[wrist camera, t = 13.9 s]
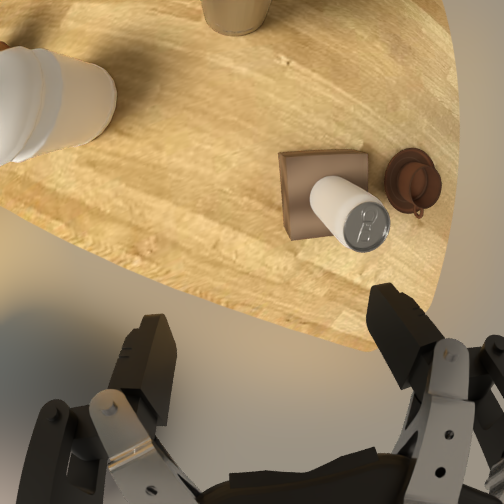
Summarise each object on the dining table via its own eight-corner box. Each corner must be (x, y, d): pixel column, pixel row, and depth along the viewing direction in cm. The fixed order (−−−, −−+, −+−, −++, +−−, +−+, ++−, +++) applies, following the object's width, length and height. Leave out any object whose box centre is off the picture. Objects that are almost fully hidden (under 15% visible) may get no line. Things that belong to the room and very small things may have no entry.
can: (354, 177, 36) (399, 201, 26) (347, 220, 39) (385, 257, 28) (312, 172, 36) (345, 194, 25) (305, 217, 38) (333, 255, 28)
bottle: (68, 59, 29) (-55, 38, 4) (132, 74, 32) (11, 31, 7) (41, 134, 34) (-84, 173, 9) (100, 156, 38) (-29, 213, 12)
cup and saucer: (435, 193, 45) (455, 203, 39) (391, 221, 47) (408, 234, 41) (420, 137, 40) (441, 141, 34) (370, 162, 42) (389, 169, 36)
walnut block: (278, 152, 40) (285, 157, 35) (351, 149, 40) (367, 153, 35) (283, 225, 45) (291, 240, 40) (351, 218, 46) (366, 231, 40)
